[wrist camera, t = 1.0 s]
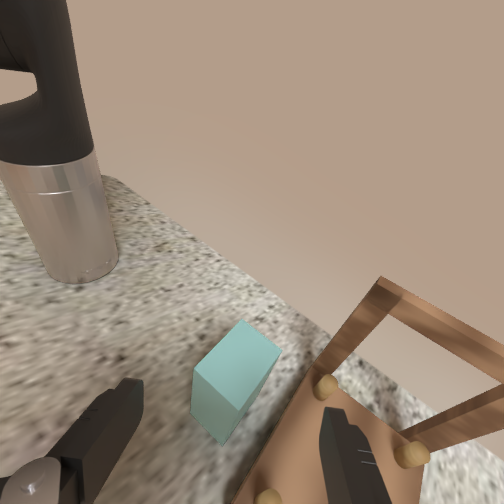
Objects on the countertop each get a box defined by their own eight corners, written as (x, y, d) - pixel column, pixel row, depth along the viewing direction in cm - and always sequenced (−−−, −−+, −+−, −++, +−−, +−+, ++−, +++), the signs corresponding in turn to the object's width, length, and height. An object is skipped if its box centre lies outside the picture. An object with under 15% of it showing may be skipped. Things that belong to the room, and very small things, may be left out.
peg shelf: (223, 515, 22) (274, 491, 10) (308, 370, 33) (380, 275, 21) (367, 680, 18) (764, 989, 6) (410, 449, 28) (577, 386, 16)
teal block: (190, 413, 27) (193, 368, 20) (227, 369, 31) (241, 318, 24) (222, 446, 25) (238, 411, 18) (257, 395, 29) (282, 350, 22)
